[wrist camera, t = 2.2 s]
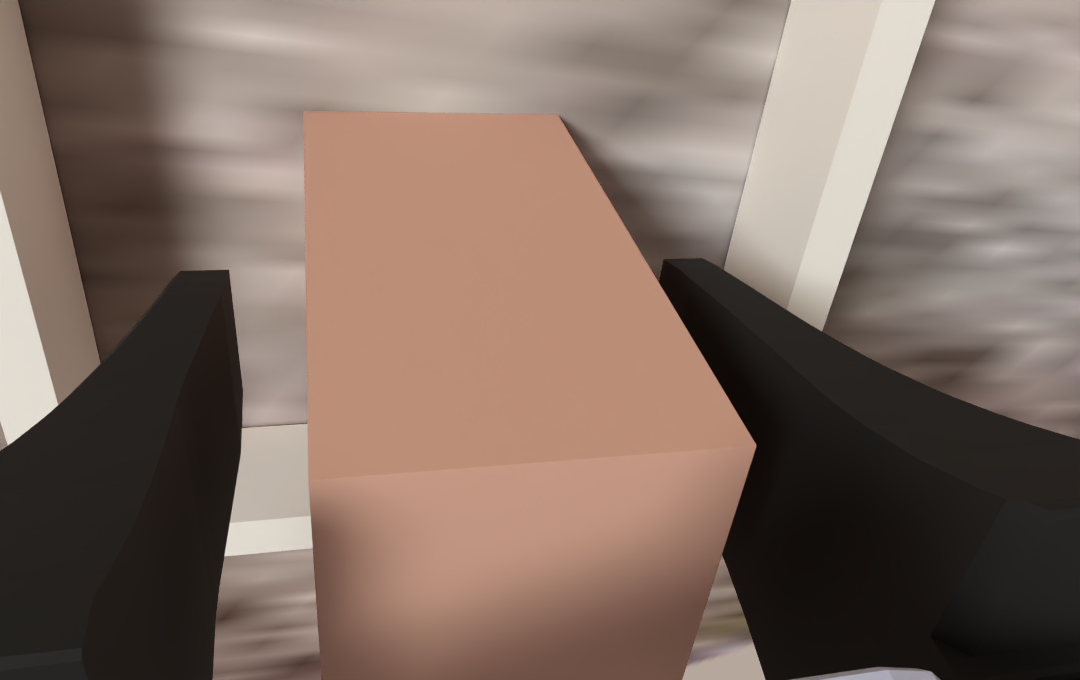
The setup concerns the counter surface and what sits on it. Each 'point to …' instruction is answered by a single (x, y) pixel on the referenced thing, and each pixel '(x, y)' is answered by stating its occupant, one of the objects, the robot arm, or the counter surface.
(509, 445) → the plain salmon-coloured rectangular block
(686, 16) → the counter surface
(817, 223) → the shelf bay
